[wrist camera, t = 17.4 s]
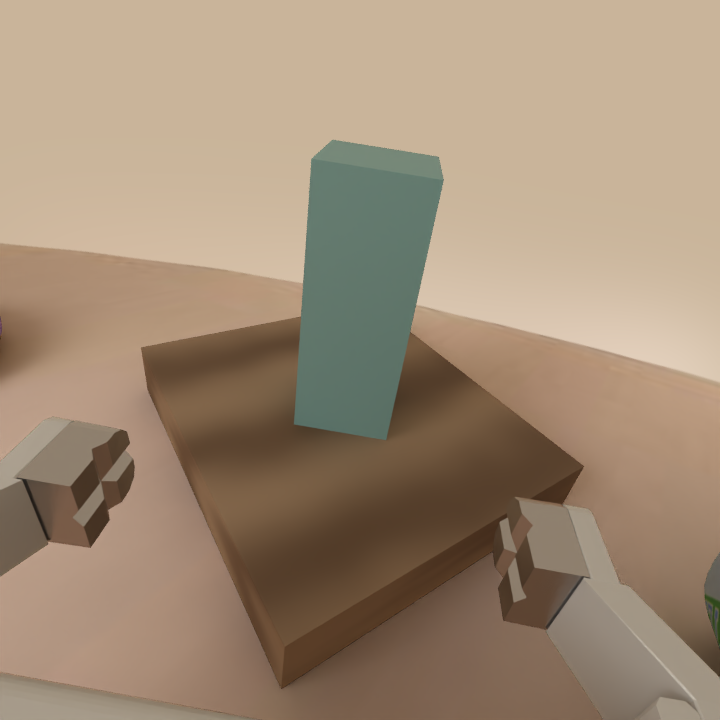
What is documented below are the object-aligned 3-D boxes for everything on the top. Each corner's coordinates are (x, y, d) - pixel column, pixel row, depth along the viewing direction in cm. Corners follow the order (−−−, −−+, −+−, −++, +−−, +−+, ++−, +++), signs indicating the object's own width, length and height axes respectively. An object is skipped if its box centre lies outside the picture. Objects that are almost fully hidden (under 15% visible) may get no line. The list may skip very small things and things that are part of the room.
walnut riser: (147, 389, 27) (141, 347, 26) (367, 337, 36) (372, 302, 34) (281, 689, 16) (284, 646, 14) (561, 506, 24) (583, 466, 22)
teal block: (293, 424, 22) (311, 158, 15) (312, 371, 26) (332, 139, 19) (386, 440, 22) (443, 180, 15) (390, 385, 26) (438, 156, 19)
